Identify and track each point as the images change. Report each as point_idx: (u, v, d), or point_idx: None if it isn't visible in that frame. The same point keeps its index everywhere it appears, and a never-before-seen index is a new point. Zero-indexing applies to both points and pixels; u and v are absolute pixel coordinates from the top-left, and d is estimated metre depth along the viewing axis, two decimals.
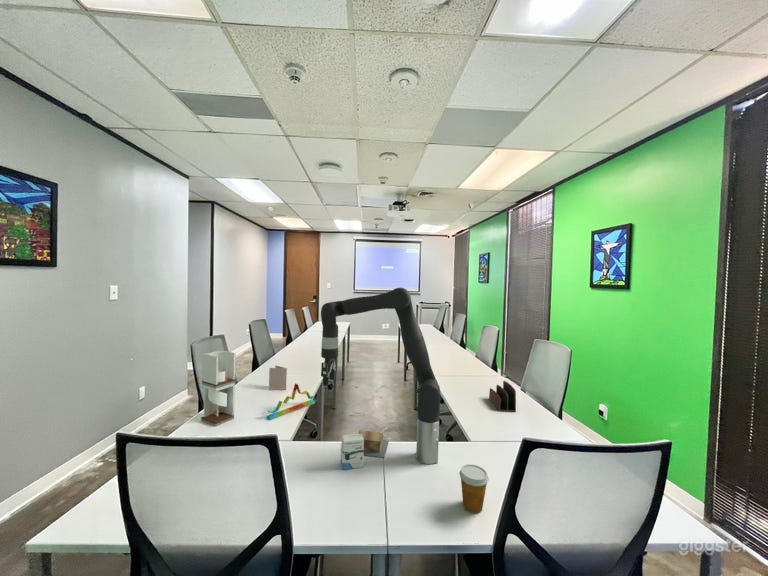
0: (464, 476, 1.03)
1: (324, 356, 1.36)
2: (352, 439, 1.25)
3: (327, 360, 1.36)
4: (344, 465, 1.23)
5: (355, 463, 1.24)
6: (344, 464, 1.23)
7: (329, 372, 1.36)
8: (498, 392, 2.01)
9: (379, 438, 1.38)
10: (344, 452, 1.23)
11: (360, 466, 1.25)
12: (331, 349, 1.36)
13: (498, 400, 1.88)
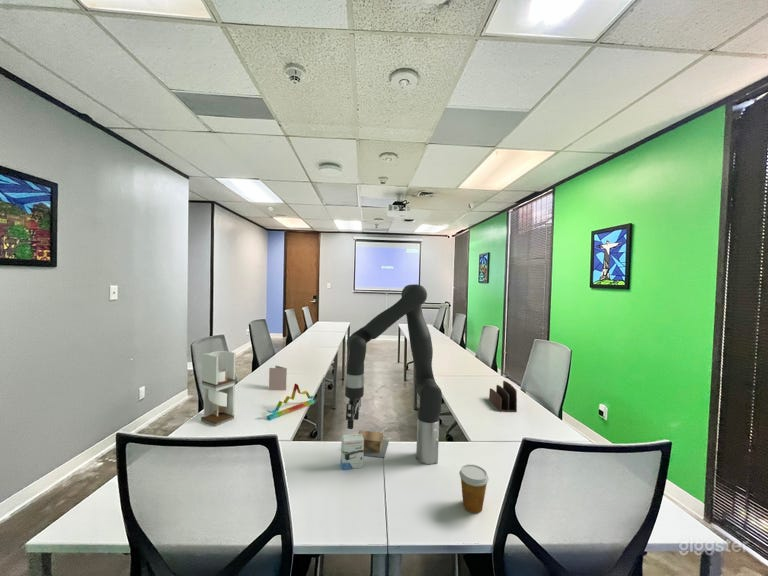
0: (464, 476, 1.03)
1: (349, 396, 1.23)
2: (352, 439, 1.25)
3: (352, 400, 1.22)
4: (344, 465, 1.23)
5: (355, 463, 1.24)
6: (344, 464, 1.23)
7: (354, 414, 1.23)
8: (498, 392, 2.01)
9: (379, 438, 1.38)
10: (344, 452, 1.23)
11: (360, 466, 1.25)
12: (357, 388, 1.23)
13: (499, 400, 1.88)
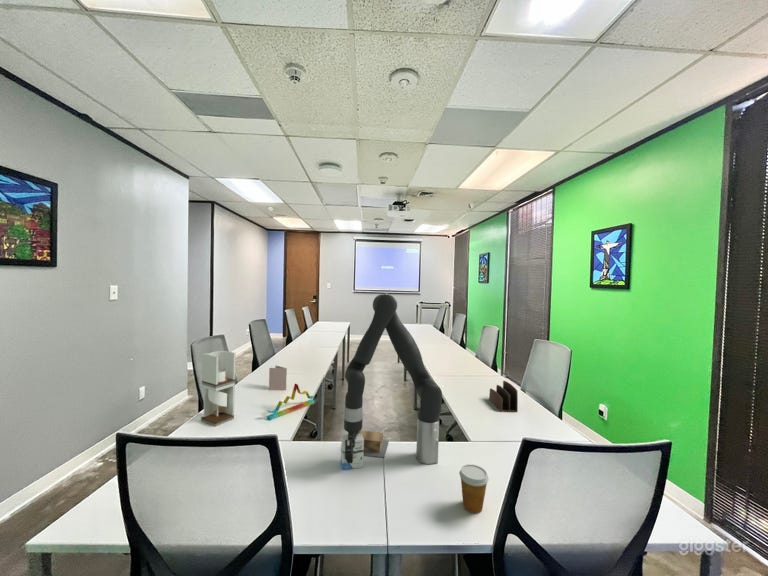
0: (464, 476, 1.03)
1: (348, 429, 1.23)
2: None
3: (351, 434, 1.23)
4: (344, 465, 1.23)
5: (355, 463, 1.24)
6: (344, 464, 1.23)
7: (353, 447, 1.23)
8: (498, 392, 2.01)
9: (379, 438, 1.38)
10: (344, 452, 1.23)
11: (360, 466, 1.25)
12: (355, 422, 1.23)
13: (500, 400, 1.88)
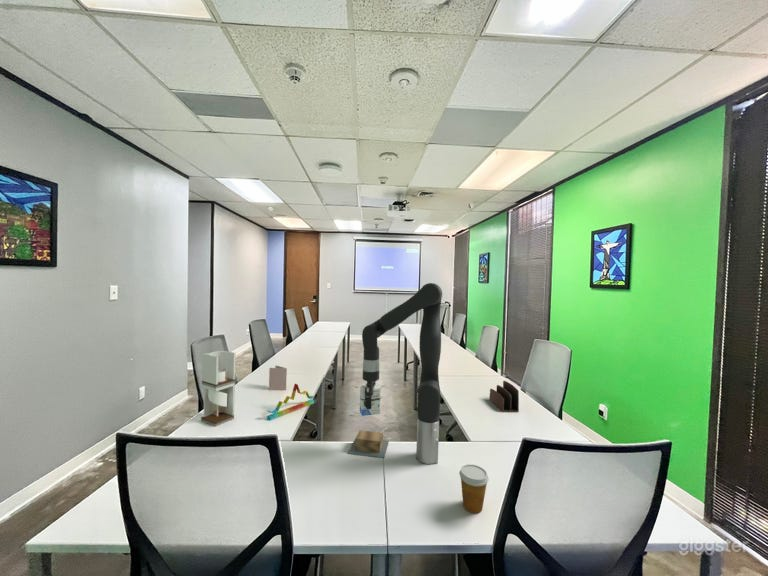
0: (464, 476, 1.03)
1: (367, 379, 1.36)
2: None
3: (369, 383, 1.36)
4: (363, 411, 1.36)
5: (373, 410, 1.37)
6: (363, 410, 1.36)
7: (372, 395, 1.36)
8: (499, 392, 2.01)
9: (379, 438, 1.38)
10: (363, 399, 1.36)
11: (377, 413, 1.38)
12: (373, 372, 1.36)
13: (501, 401, 1.88)
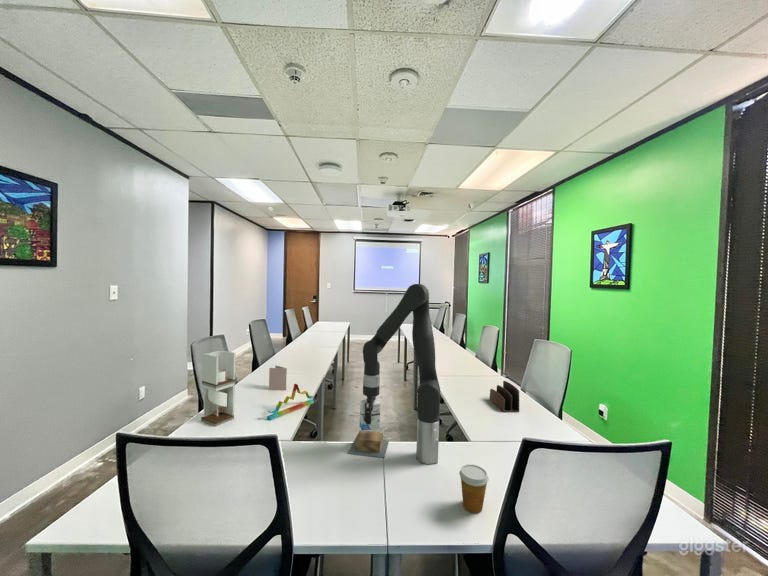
0: (464, 476, 1.03)
1: (367, 394, 1.37)
2: None
3: (369, 398, 1.36)
4: (363, 426, 1.37)
5: (373, 425, 1.38)
6: (363, 425, 1.37)
7: (372, 410, 1.37)
8: (499, 392, 2.01)
9: (379, 438, 1.38)
10: (363, 414, 1.37)
11: (377, 428, 1.39)
12: (373, 387, 1.37)
13: (502, 401, 1.87)
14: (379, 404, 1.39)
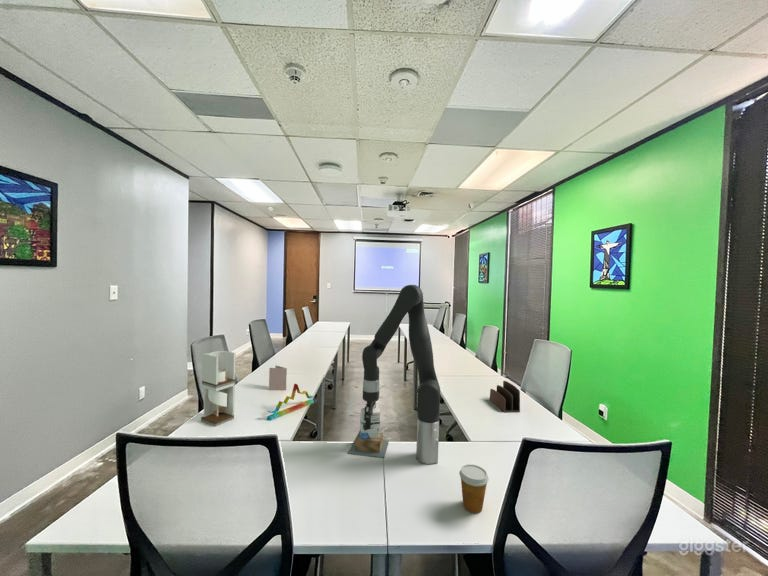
0: (464, 476, 1.03)
1: (367, 399, 1.37)
2: None
3: (369, 403, 1.37)
4: (362, 434, 1.37)
5: (372, 434, 1.38)
6: (362, 434, 1.37)
7: (371, 415, 1.37)
8: (499, 392, 2.01)
9: (379, 438, 1.38)
10: (362, 423, 1.37)
11: (377, 436, 1.39)
12: (373, 392, 1.37)
13: (502, 401, 1.87)
14: (379, 413, 1.39)
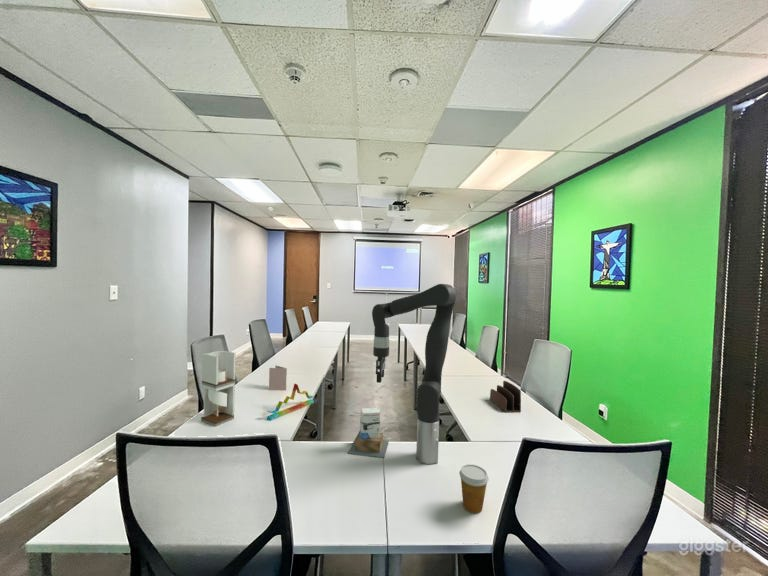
0: (464, 476, 1.03)
1: (377, 355, 1.44)
2: (370, 412, 1.38)
3: (380, 358, 1.44)
4: (362, 434, 1.37)
5: (372, 434, 1.38)
6: (362, 434, 1.37)
7: (382, 370, 1.44)
8: (499, 392, 2.00)
9: (379, 438, 1.38)
10: (362, 423, 1.37)
11: (377, 436, 1.39)
12: (384, 348, 1.44)
13: (503, 401, 1.87)
14: (379, 413, 1.39)
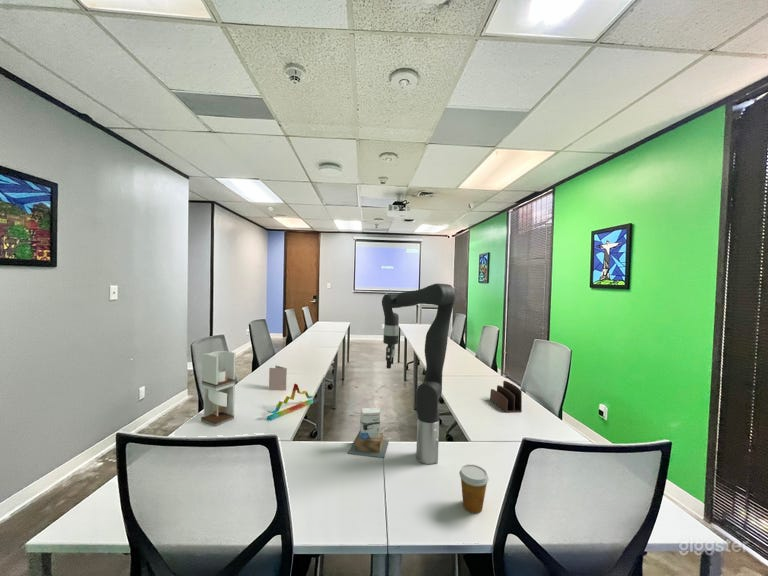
0: (464, 476, 1.03)
1: (387, 342, 1.52)
2: (370, 412, 1.38)
3: (390, 346, 1.52)
4: (362, 434, 1.37)
5: (372, 434, 1.38)
6: (362, 434, 1.37)
7: (392, 356, 1.52)
8: (500, 393, 2.00)
9: (379, 438, 1.38)
10: (362, 423, 1.37)
11: (377, 436, 1.39)
12: (393, 336, 1.52)
13: (504, 401, 1.87)
14: (379, 413, 1.39)
